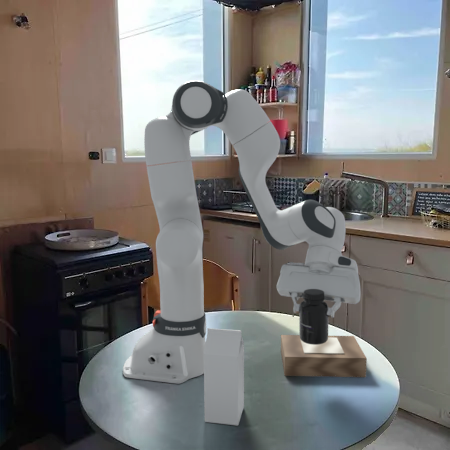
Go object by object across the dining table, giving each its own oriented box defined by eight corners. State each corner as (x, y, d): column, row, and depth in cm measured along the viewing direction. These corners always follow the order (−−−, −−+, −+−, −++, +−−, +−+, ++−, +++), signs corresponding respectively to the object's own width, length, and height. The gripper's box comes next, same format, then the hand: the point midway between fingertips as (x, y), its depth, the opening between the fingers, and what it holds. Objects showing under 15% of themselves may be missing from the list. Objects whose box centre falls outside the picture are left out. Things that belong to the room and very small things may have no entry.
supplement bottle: (298, 344, 107) (297, 295, 105) (300, 333, 114) (299, 286, 112) (328, 346, 105) (328, 296, 103) (328, 334, 112) (328, 287, 110)
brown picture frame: (284, 375, 114) (284, 355, 113) (280, 351, 127) (281, 333, 127) (365, 377, 112) (366, 357, 112) (353, 353, 126) (353, 334, 126)
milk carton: (238, 426, 92) (238, 337, 90) (204, 422, 94) (203, 334, 91) (244, 407, 99) (244, 324, 96) (212, 404, 101) (211, 322, 98)
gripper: (280, 255, 117) (268, 302, 110) (362, 261, 109) (355, 313, 102) (285, 267, 122) (273, 314, 114) (364, 274, 114) (357, 325, 106)
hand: (313, 314), depth 108 cm, fingers closed on supplement bottle, 7 cm apart
